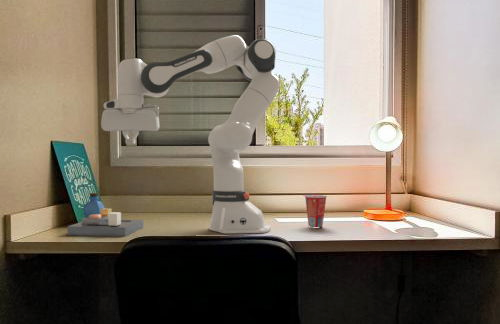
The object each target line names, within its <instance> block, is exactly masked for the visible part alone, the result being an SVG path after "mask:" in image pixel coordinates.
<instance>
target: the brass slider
mask: <svg viewBox="0 0 500 324" xmlns="http://www.w3.org/2000/svg"><path fill="white" fill-rule="evenodd" d="M112 209H113V208H109V207H108V208H106V207H105V208H103V209H100V214H101V216H108V214H109V213H112V212H113V211H112Z"/></svg>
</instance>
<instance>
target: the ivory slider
mask: <svg viewBox="0 0 500 324" xmlns="http://www.w3.org/2000/svg"><path fill="white" fill-rule="evenodd" d="M121 219H122V212H119V211H117V212H116V211H112V213H109V214H108V225H112V226H117V225H120V224H121Z"/></svg>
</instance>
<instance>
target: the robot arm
mask: <svg viewBox="0 0 500 324" xmlns="http://www.w3.org/2000/svg"><path fill="white" fill-rule="evenodd" d="M276 51H277V50H276V46H275V45H274V43H273V42H271V40H269V39H267V38H258V39H255V40H254V41H252V42H251V43H250V45H247V44H246V43H245V41H244V39H243V38H242V37H241V36H239V35H237V34H233V35H228V36H224V37H220V38H218V39H215V40H213V41H211V42H209V43H207V44H204V45H203V46H202V47H200V48H198V49H197V50H194V52H192V53H189V54H186V55H184V56H181V57H178V58H175V59H173V60H170V61H167V62H161V61H160V62H159V61H156V62H150V63H149V64H147V63H145V61H143V60H142V59H140V58H135V57H129V58H125V59H122V60H121V61H120V62H119V65H118V69H117V86H118V92H117V98H114V99H112V100H110V101H106V102H104V103H103V108H104V110H103V112H102V114H101V122H100V124H101V125H100V126H101V127H100V128H101V129H102V130H103V131H105V132H122V135H123V137H124V138H125V144H126V145H127V144H128V145H131V144H132V145H133V144H134V145H135V144H136V141H137V137H138V136H139V135H140V134H139V133H140V132H158V131H159V129H160V127H161V126H160V118H159V116H160V108H159V106H158V105H156V104H144V102H145V101H144V98H145V97H144V96H148V97H151V98H162V97H164V96H165V95H167V93H168V92H169V90H170V88H171V86H172V85H173V84H174V83H175V82H176V81H178V80H179V79H182V78H184V77H187V76H189V75H193V74H194V73H198V72H202V73H204V74H208V75H211V74H216V73H219V72H222V71H225V70H226V69H229V68H231V67H234V66H236V69H237V71H239V72H240V74H241V76H243V78H244V79H246V80H247V81H249V82H250V83H249V84H248V86H247V87H246V88H245V90H244V91H243V92H242V94H241V95H240V97H239V98H238V99H237V100H236V102H235V104H234V105H233V108H232V111H231V113H230V115H229V117H228V119H226V121H225V122H224V123H223V124H219V125H216V126H215V127H214V128H213V129H212V130H211V131H210V132H209V134H208V137H207V138H208V139H207V142H208V144H209V147H210V155H211V161H212V167H213V168H212V169H213V190H212V193H211V203H212V204H211V205H212V212H211V219H210V225H209V227H208V228H209V230H210V231H213V232H218V233H221V234H258V233H259V234H264V233H268V232H269V231H271V225H269V224H268V223H265V217H264V214H263V212H262V210H261V209H260V208H258V207H257V206H256V205H255V204H253V203H252V202H250V201H249V199H250V192H247V191H245V190H244V187H245V186H244V180H245V179H244V178H245V177H244V175H245V174H244V168H243V165H242V163H241V158H240V154H239V153H240V152H242V151H245V150H246V149H247V148H248V147H249V146H250V145H251V144H252V141H253V135H254V132H255V130H256V128H257V126H258V124H259V122H260V120H261V119H262V117H264V115H265V113H266V111H267V110H268V109H269V108H270V106H271V104H272V103H273V101H274V100H275V98H276V97H277V96H276V95H277V93H278V92H279V89H280V81H279V78H278V77H277V76H276V75H275V74H274V73H273V72H272V71H273V70H274V69H275V67H276V56H277V53H276ZM129 132H132V134H133V135H132V138H130V137H129Z"/></svg>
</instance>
